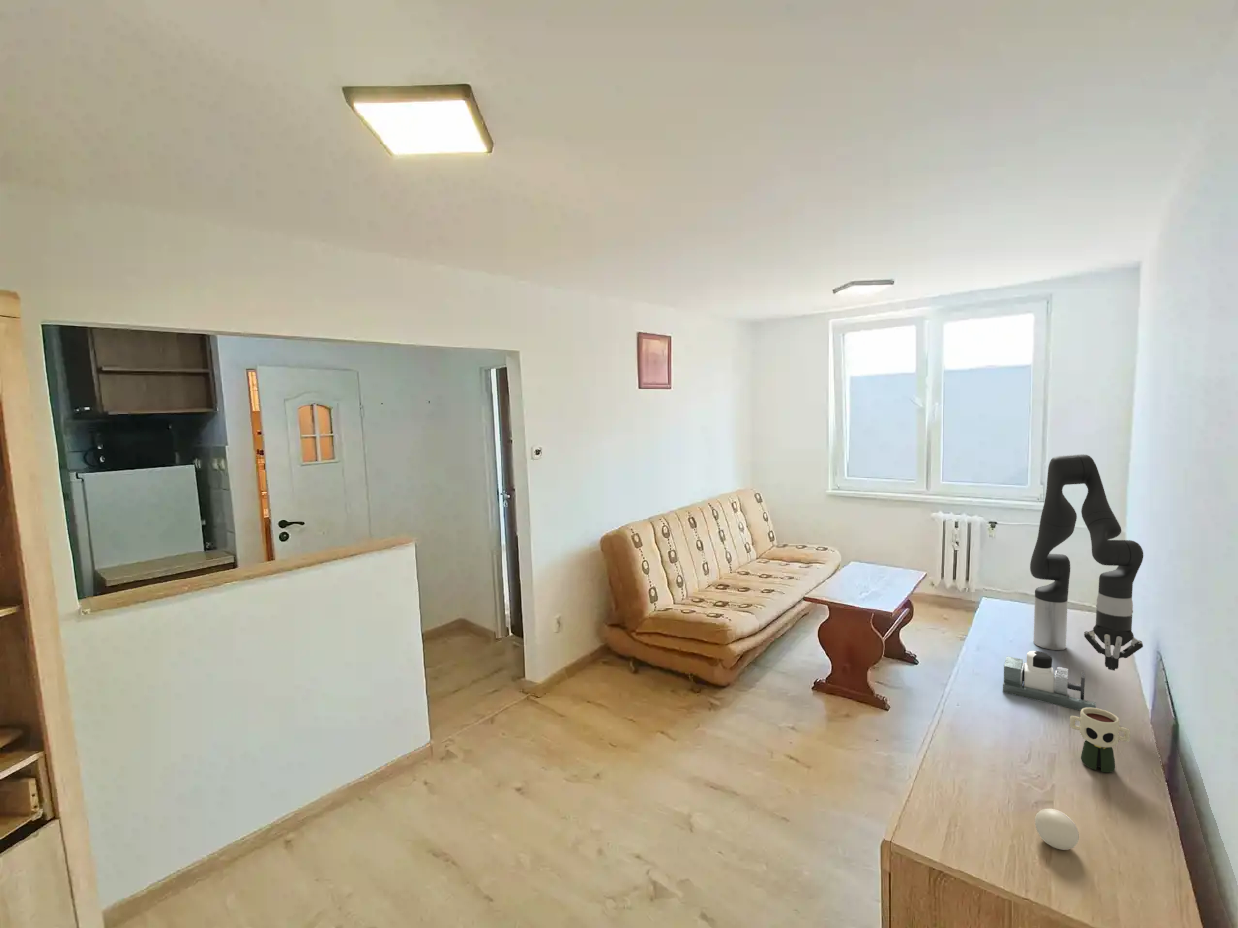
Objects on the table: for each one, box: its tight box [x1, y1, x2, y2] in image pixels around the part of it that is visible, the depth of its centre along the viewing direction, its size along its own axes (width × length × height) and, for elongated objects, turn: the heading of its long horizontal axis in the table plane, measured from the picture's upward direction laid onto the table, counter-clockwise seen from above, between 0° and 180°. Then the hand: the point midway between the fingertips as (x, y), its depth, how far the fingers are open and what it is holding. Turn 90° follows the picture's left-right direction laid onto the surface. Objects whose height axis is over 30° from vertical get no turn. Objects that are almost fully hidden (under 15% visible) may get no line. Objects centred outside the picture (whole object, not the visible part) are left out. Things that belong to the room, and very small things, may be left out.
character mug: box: [1069, 707, 1131, 773], centre depth 133 cm, size 11×7×13 cm, turn 52°
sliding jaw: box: [1054, 666, 1086, 700], centre depth 164 cm, size 8×7×8 cm
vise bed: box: [1002, 656, 1097, 712], centre depth 166 cm, size 10×22×8 cm, turn 50°
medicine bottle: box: [1023, 650, 1055, 693], centre depth 168 cm, size 7×7×12 cm
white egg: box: [1034, 808, 1080, 851], centre depth 112 cm, size 7×7×7 cm
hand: (1111, 668), depth 157 cm, fingers closed
